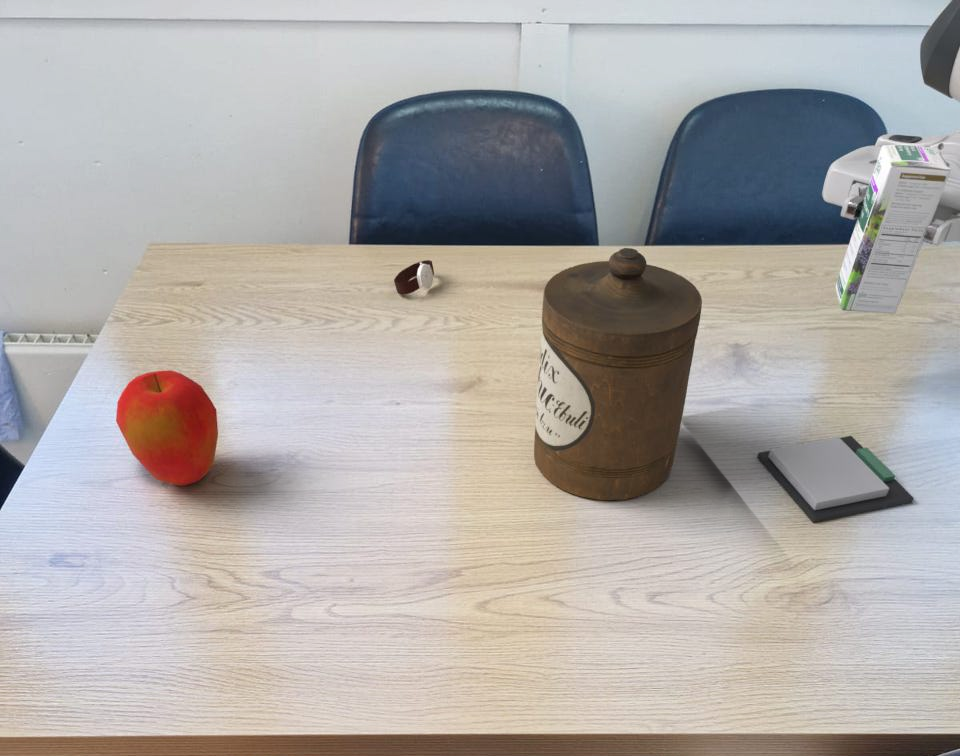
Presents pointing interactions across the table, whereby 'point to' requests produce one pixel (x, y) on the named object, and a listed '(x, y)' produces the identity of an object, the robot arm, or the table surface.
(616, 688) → the table surface
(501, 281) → the table surface
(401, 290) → the watch
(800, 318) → the table surface
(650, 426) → the wooden container
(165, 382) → the apple
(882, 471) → the scale
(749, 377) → the table surface
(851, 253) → the syrup box
